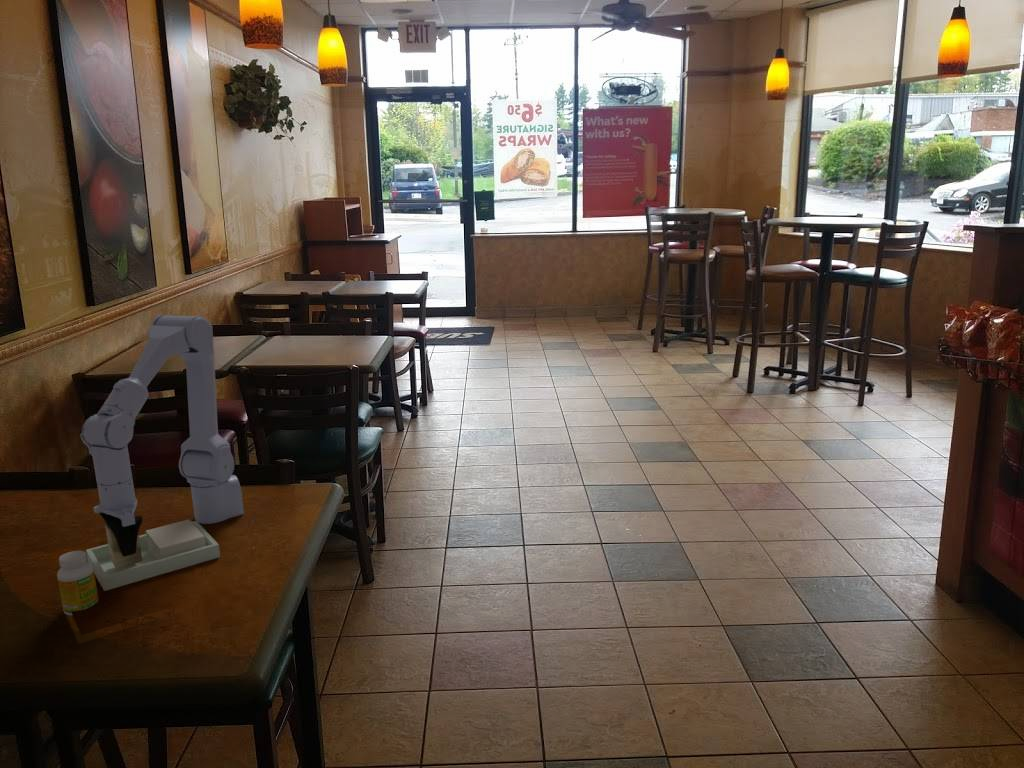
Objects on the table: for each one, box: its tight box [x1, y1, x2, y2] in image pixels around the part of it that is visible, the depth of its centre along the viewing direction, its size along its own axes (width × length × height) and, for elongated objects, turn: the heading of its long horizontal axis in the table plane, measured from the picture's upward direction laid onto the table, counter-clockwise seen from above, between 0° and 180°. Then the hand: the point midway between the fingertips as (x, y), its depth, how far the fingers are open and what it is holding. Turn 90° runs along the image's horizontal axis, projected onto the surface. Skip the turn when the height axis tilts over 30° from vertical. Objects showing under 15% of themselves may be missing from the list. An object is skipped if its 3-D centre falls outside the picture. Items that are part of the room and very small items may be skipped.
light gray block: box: [145, 519, 206, 560], centre depth 154 cm, size 8×10×4 cm
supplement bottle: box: [56, 550, 99, 617], centre depth 136 cm, size 5×5×10 cm
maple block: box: [104, 523, 143, 569], centre depth 149 cm, size 4×4×7 cm
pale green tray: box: [85, 520, 221, 592], centre depth 152 cm, size 20×14×4 cm
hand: (125, 549), depth 149 cm, fingers closed on maple block, 4 cm apart
